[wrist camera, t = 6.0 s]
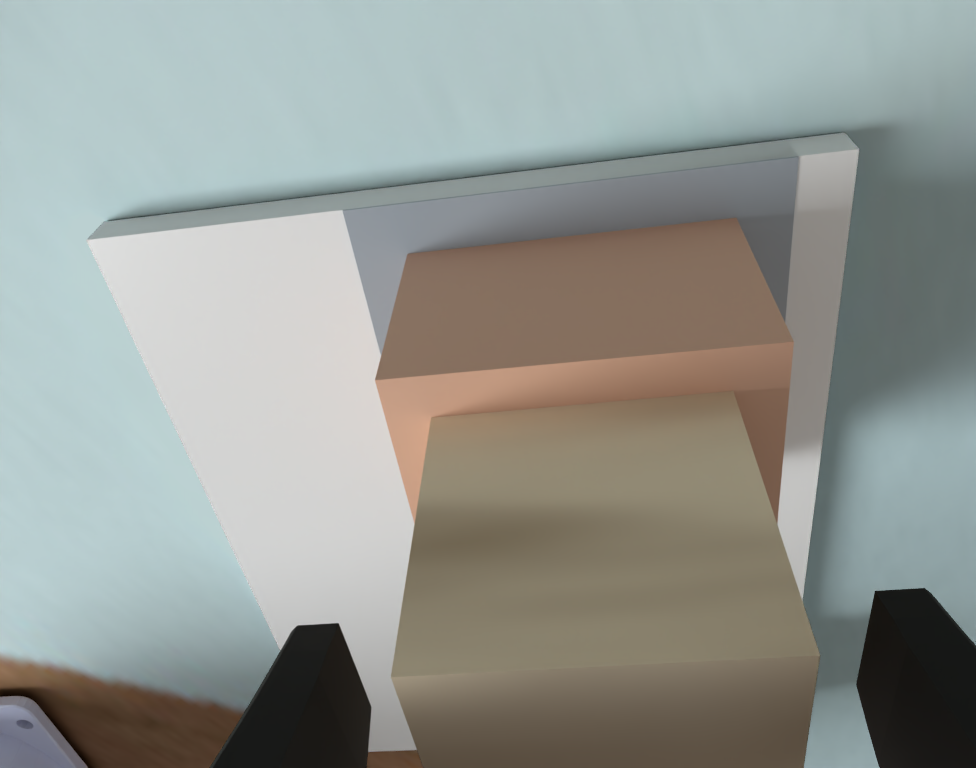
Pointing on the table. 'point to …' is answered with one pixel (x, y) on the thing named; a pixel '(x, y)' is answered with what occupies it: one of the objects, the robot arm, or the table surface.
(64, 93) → the table surface
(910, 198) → the table surface
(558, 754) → the maple block
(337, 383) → the mat
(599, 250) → the terracotta block
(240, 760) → the robot arm
